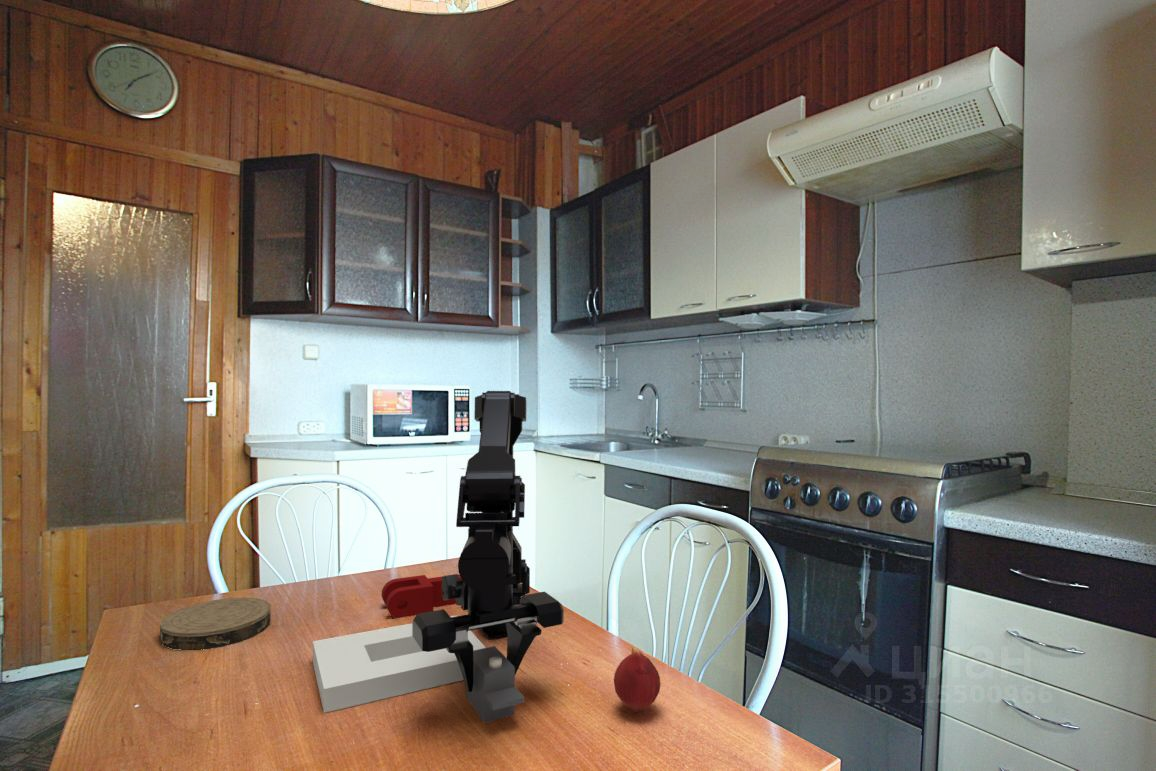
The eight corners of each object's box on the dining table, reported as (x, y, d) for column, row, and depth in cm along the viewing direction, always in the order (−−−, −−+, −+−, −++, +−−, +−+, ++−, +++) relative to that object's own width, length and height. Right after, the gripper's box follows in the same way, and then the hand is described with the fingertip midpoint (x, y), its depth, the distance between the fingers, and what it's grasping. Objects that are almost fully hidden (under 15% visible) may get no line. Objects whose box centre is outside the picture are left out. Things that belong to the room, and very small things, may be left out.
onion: (663, 703, 78) (664, 642, 78) (654, 727, 73) (655, 661, 73) (620, 696, 80) (620, 635, 80) (608, 718, 75) (608, 654, 75)
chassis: (456, 633, 100) (456, 615, 100) (490, 673, 86) (490, 652, 86) (312, 661, 90) (312, 641, 90) (323, 712, 76) (324, 689, 76)
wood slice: (260, 645, 96) (260, 626, 96) (143, 658, 91) (143, 638, 91) (278, 610, 111) (278, 593, 111) (179, 619, 106) (179, 602, 106)
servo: (459, 687, 82) (459, 637, 82) (487, 680, 84) (487, 632, 84) (492, 736, 71) (493, 678, 71) (524, 727, 73) (524, 670, 73)
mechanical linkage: (387, 621, 106) (388, 592, 106) (381, 607, 112) (381, 580, 112) (475, 606, 113) (475, 579, 113) (465, 594, 119) (465, 569, 119)
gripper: (531, 541, 89) (530, 647, 89) (402, 558, 80) (402, 675, 80) (565, 560, 79) (565, 679, 79) (423, 582, 70) (423, 715, 70)
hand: (489, 685), depth 78 cm, fingers open, 5 cm apart
